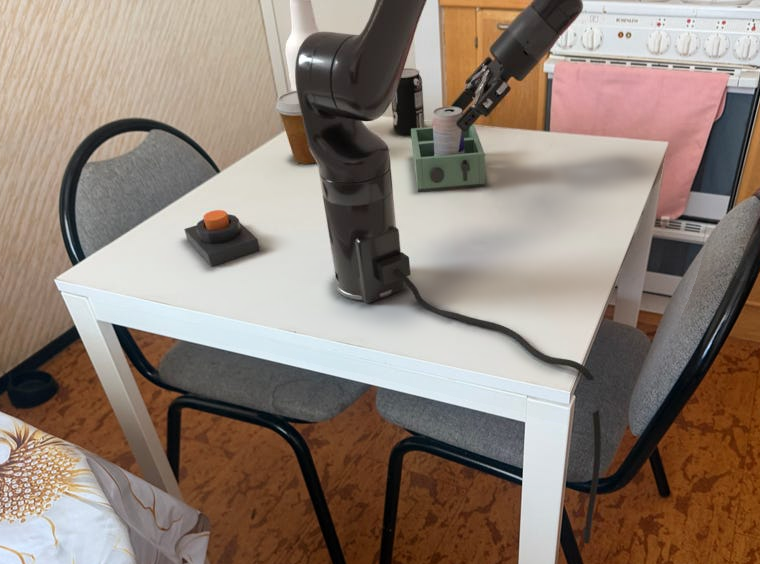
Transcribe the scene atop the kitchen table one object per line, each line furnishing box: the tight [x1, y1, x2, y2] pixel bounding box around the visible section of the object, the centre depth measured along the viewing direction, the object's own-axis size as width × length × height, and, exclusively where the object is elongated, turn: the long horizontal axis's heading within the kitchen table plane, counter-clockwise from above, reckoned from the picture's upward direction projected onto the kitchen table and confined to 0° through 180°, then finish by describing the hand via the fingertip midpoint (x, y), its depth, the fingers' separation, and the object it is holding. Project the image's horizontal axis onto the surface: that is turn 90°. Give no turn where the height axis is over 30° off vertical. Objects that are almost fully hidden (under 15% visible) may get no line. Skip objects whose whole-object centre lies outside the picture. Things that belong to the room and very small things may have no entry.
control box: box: [184, 213, 261, 268], centre depth 110 cm, size 11×8×4 cm
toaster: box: [410, 123, 486, 193], centre depth 127 cm, size 12×17×6 cm
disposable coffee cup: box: [275, 90, 317, 165], centre depth 135 cm, size 10×10×12 cm
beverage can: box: [391, 67, 426, 137], centre depth 144 cm, size 7×7×12 cm
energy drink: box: [432, 105, 464, 156], centre depth 123 cm, size 5×5×12 cm
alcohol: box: [284, 0, 320, 91], centre depth 139 cm, size 9×9×30 cm
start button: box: [202, 209, 229, 230], centre depth 109 cm, size 4×4×2 cm
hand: (457, 119), depth 120 cm, fingers open, 8 cm apart
